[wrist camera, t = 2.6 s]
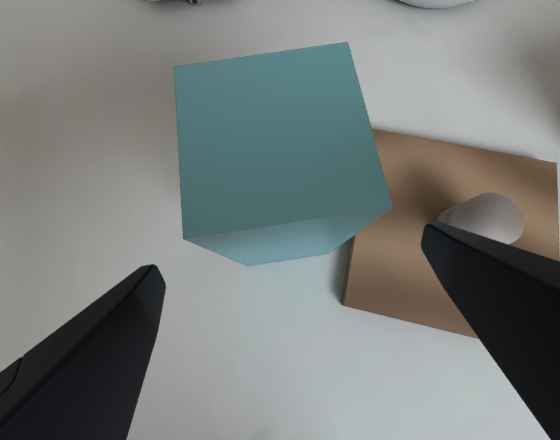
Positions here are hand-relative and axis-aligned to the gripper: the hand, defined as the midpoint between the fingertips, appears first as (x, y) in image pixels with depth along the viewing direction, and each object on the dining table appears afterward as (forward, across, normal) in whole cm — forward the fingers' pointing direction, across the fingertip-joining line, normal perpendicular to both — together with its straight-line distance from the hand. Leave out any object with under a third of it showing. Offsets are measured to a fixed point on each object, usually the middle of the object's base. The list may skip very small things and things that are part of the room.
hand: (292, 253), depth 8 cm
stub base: (+8, -12, +7) cm, 16 cm away
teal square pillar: (+10, 0, +5) cm, 11 cm away
